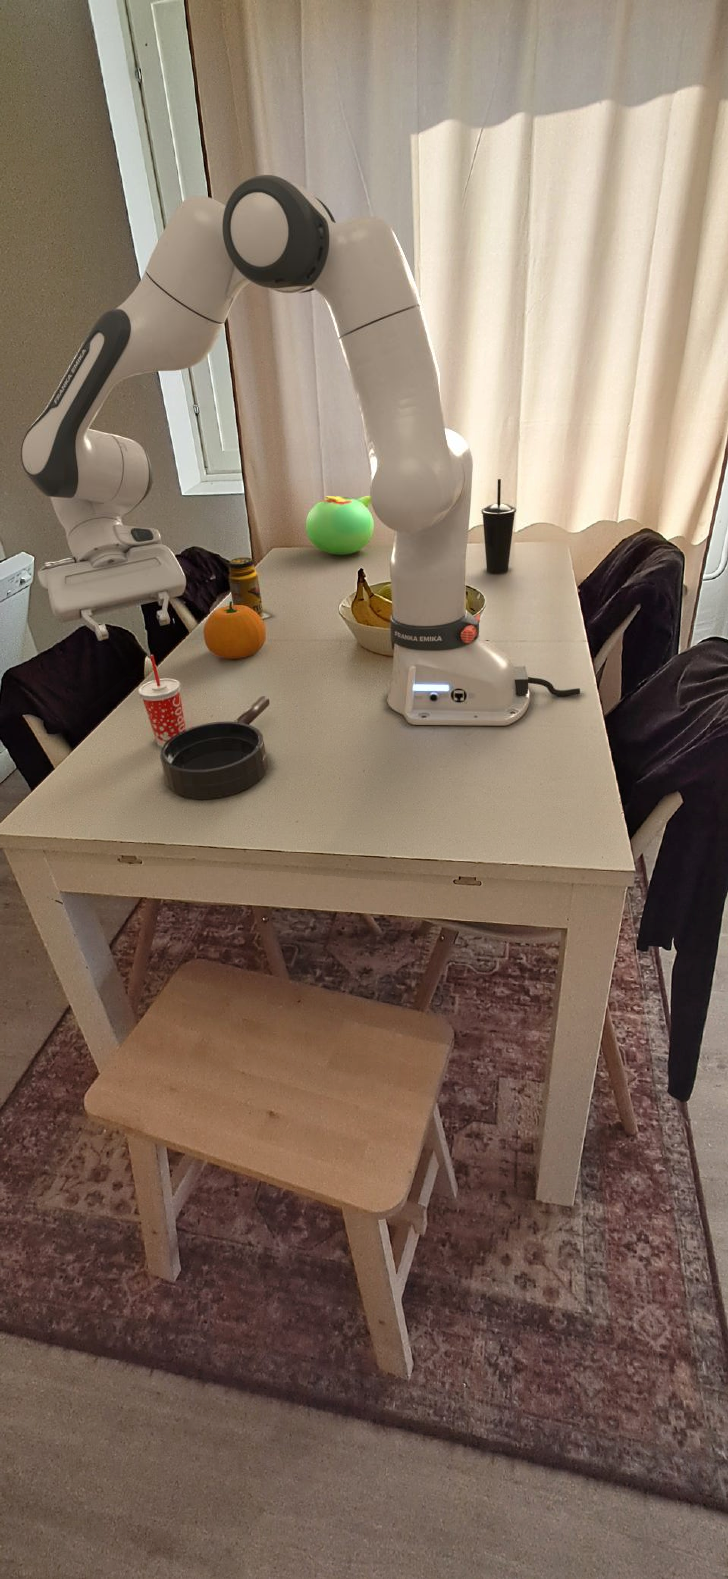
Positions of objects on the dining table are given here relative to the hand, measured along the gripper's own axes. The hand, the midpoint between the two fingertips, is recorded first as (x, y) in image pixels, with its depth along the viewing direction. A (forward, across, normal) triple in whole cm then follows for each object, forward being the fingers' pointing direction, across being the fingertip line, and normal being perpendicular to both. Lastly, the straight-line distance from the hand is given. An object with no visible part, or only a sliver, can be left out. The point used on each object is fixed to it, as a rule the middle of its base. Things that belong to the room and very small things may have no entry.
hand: (135, 630), depth 115 cm
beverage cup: (+16, 0, +6) cm, 17 cm away
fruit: (-3, +22, +25) cm, 33 cm away
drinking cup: (-8, +89, +30) cm, 94 cm away
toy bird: (-36, +70, +58) cm, 98 cm away
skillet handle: (+19, +11, -1) cm, 22 cm away
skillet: (+26, +2, -4) cm, 27 cm away
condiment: (-15, +30, +37) cm, 50 cm away
